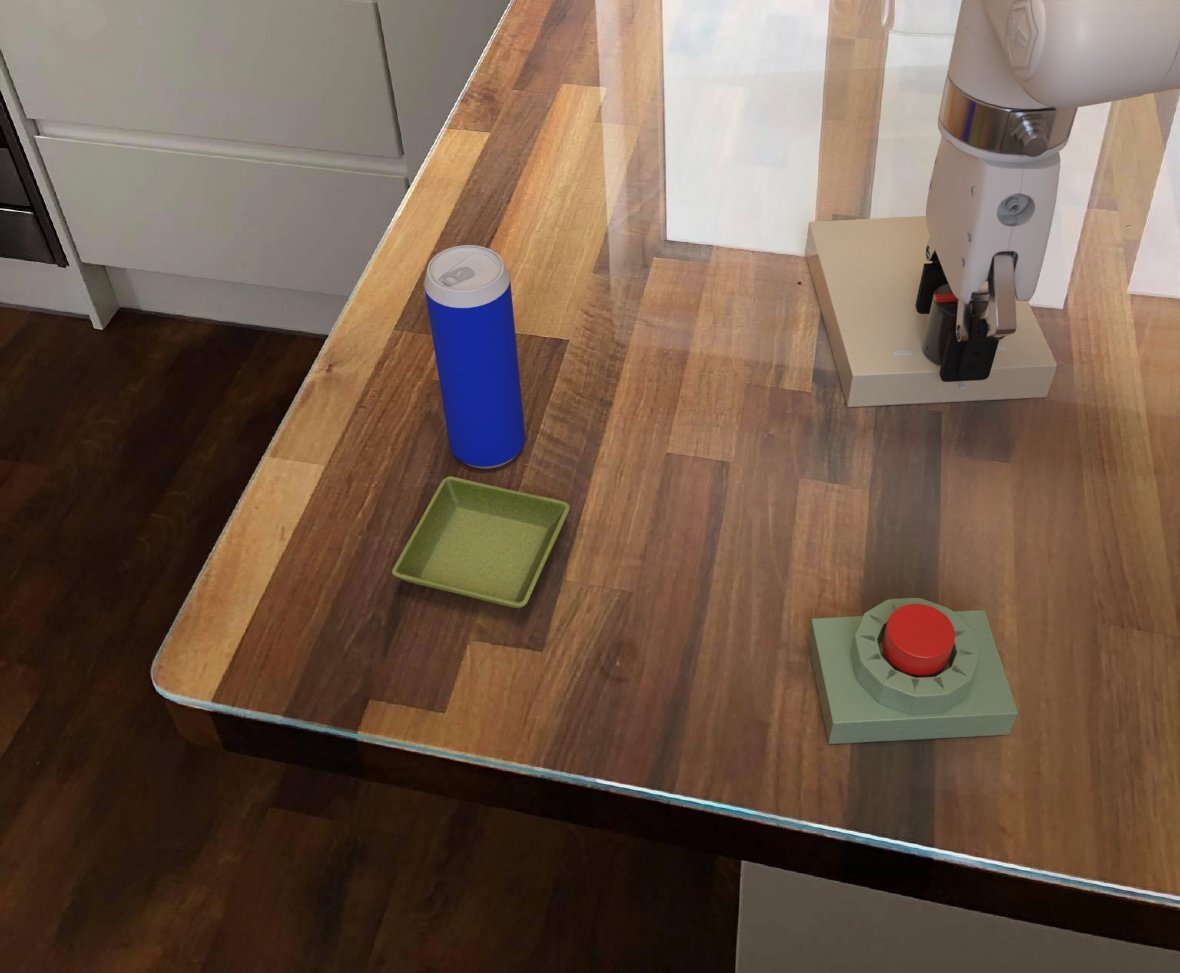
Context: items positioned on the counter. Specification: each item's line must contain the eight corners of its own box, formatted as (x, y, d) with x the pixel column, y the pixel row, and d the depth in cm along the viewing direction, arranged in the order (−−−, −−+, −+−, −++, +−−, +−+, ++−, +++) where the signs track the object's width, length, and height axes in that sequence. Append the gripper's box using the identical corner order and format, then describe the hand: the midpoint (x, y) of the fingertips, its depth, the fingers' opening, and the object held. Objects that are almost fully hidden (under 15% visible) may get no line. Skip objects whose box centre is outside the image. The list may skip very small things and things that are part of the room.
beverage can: (491, 409, 86) (470, 231, 75) (541, 445, 83) (526, 266, 73) (434, 446, 84) (404, 268, 73) (484, 484, 81) (460, 306, 70)
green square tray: (448, 495, 81) (445, 473, 79) (573, 523, 79) (572, 501, 77) (393, 595, 75) (389, 574, 73) (527, 628, 73) (524, 607, 71)
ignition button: (940, 620, 68) (946, 601, 67) (956, 674, 66) (963, 655, 64) (876, 624, 68) (880, 604, 67) (889, 678, 66) (894, 659, 64)
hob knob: (967, 332, 86) (981, 277, 82) (981, 366, 83) (996, 311, 80) (916, 335, 86) (928, 279, 82) (928, 369, 83) (941, 313, 80)
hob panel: (979, 244, 98) (988, 210, 95) (1055, 416, 84) (1067, 382, 82) (805, 252, 97) (809, 219, 95) (852, 426, 84) (858, 392, 82)
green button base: (976, 631, 72) (991, 589, 69) (1009, 734, 67) (1026, 694, 64) (807, 640, 72) (814, 598, 69) (828, 744, 67) (836, 704, 64)
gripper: (1123, 187, 65) (1041, 428, 78) (1029, 31, 77) (972, 264, 90) (982, 193, 65) (924, 434, 78) (910, 37, 77) (870, 269, 90)
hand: (950, 341), depth 84 cm, fingers open, 6 cm apart
